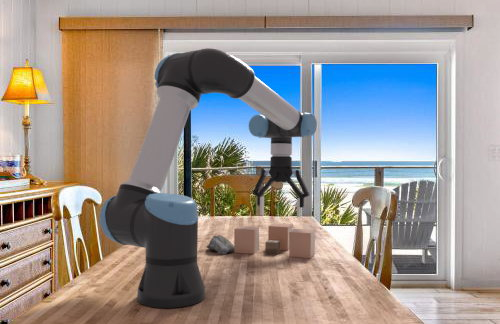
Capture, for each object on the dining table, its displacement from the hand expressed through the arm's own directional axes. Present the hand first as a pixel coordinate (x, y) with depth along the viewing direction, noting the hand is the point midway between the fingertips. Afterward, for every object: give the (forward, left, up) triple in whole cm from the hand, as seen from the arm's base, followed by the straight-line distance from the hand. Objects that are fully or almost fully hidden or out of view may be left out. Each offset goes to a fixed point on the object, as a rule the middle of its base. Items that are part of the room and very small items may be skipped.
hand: (280, 215), depth 166 cm
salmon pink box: (-10, -10, -11) cm, 18 cm away
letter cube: (-10, 0, -11) cm, 15 cm away
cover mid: (0, 0, -11) cm, 11 cm away
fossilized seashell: (-12, +18, -12) cm, 25 cm away
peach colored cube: (-10, +9, -11) cm, 17 cm away
